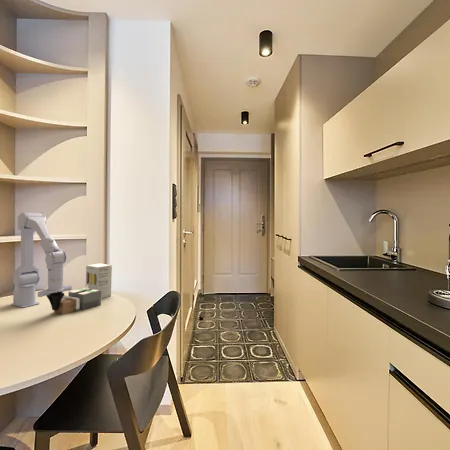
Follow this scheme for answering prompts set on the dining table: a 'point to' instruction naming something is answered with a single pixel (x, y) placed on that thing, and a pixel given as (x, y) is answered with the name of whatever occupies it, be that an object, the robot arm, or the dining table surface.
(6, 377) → the dining table surface
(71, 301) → the walnut block
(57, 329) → the dining table surface
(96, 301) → the gauge housing
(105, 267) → the supplement box
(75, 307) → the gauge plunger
